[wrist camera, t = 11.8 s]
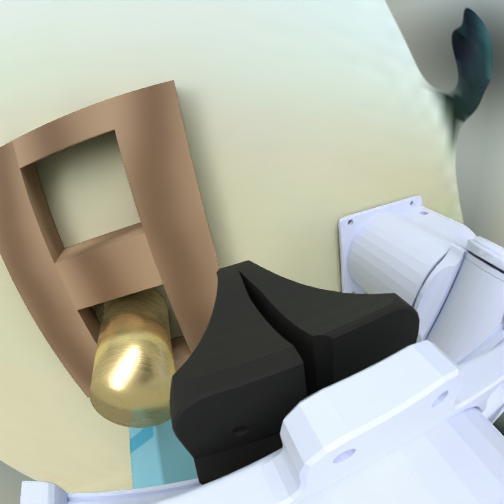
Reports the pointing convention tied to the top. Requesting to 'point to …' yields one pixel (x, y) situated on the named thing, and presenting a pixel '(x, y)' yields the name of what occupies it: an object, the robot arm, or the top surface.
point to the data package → (159, 457)
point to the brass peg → (134, 361)
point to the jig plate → (115, 243)
